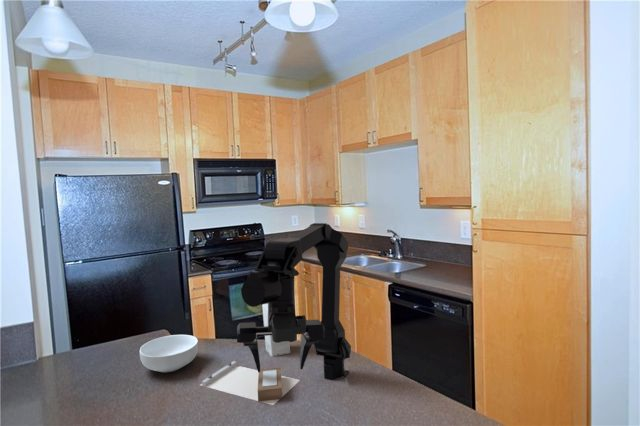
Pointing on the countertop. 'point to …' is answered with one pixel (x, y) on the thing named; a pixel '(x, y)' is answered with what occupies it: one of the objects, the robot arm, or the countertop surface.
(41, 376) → the countertop surface
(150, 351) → the cereal bowl
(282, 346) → the skincare box
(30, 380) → the countertop surface
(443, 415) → the countertop surface
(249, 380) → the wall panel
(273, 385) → the frame
